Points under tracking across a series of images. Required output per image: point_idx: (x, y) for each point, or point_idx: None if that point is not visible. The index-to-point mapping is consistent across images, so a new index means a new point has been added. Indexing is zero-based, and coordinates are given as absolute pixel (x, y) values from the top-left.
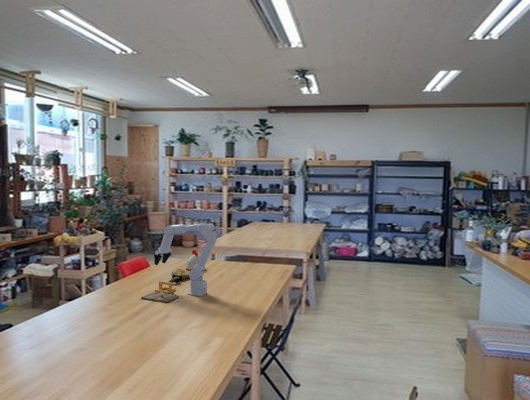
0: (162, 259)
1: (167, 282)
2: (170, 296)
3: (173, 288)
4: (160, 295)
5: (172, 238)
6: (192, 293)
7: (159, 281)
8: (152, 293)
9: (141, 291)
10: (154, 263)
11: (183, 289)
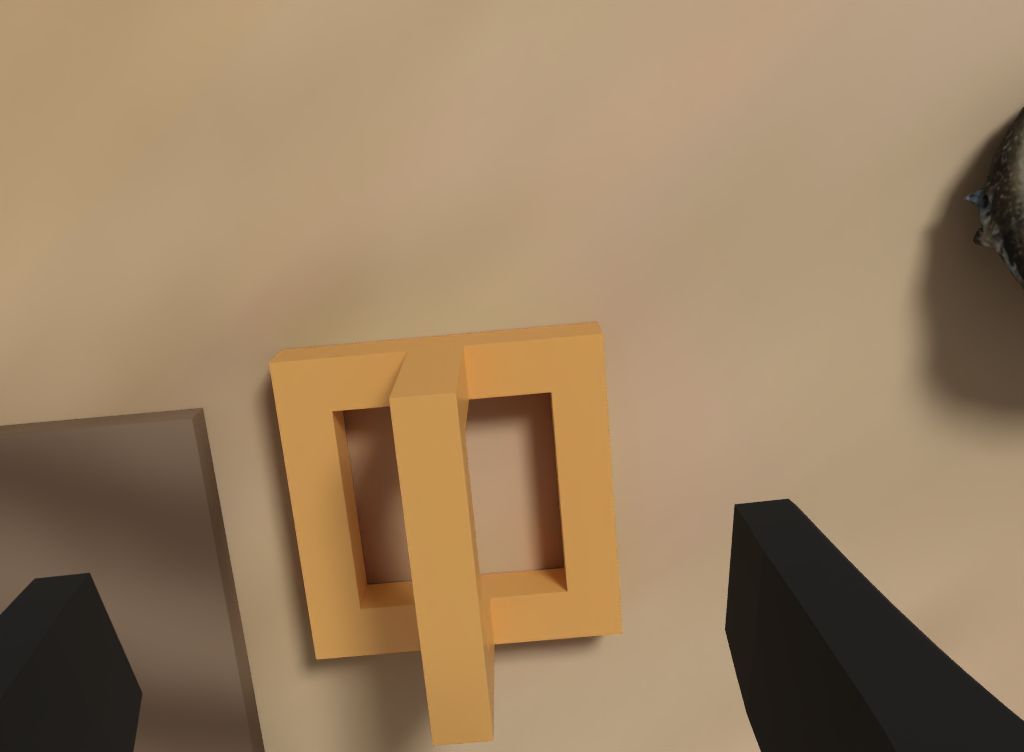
0: (798, 607)
1: (425, 655)
2: None
3: (578, 612)
4: None
5: None
6: None
7: (393, 420)
8: (91, 461)
9: (158, 36)
10: (6, 610)
11: None
